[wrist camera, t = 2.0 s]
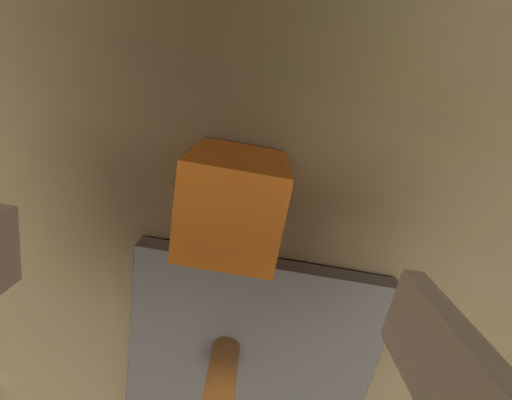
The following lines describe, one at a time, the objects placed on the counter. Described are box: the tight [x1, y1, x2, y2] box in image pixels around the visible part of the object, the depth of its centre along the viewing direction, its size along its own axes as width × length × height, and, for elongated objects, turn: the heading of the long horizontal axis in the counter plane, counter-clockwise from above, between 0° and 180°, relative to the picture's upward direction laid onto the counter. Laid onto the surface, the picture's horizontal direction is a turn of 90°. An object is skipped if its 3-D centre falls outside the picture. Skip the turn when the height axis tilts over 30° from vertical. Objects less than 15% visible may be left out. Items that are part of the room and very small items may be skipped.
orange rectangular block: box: [168, 137, 294, 281], centre depth 18 cm, size 5×5×7 cm
